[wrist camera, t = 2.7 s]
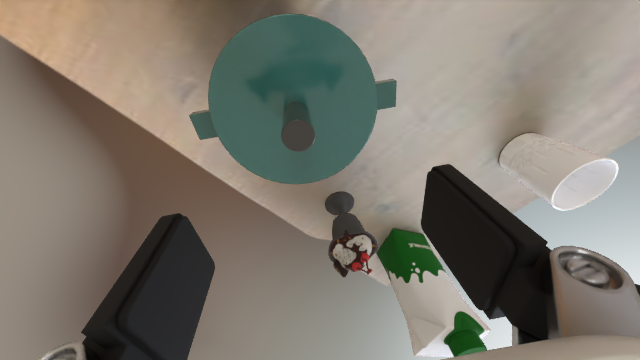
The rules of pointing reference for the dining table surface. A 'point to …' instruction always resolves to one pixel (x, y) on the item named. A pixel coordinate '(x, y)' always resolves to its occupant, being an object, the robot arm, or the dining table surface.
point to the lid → (292, 98)
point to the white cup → (558, 170)
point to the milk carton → (430, 299)
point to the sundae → (348, 236)
